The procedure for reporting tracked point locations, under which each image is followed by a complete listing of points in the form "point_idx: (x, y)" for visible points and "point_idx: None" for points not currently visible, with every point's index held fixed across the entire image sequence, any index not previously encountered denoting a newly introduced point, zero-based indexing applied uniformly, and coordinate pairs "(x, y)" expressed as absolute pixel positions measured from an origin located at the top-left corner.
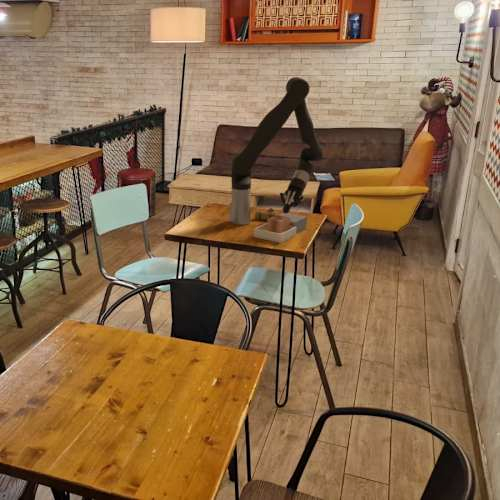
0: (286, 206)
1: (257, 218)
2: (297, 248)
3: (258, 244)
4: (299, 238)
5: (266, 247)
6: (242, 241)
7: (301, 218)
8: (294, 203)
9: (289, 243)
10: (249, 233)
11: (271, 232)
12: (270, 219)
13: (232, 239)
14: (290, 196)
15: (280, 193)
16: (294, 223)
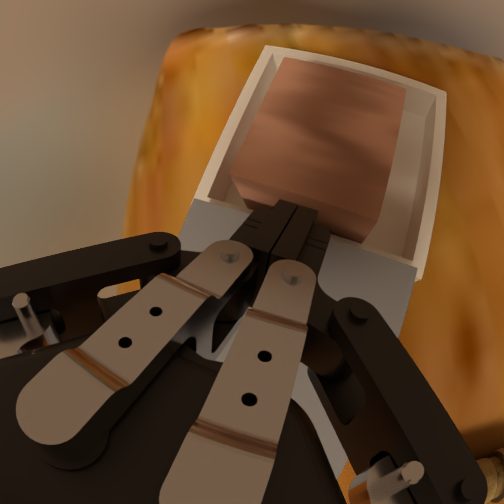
0: (277, 234)
1: (501, 448)
2: (189, 60)
3: (364, 46)
4: (185, 179)
5: (318, 29)
6: (440, 64)
7: None
8: (140, 237)
9: (229, 92)
10: (475, 172)
11: (328, 56)
12: (378, 80)
13: (484, 80)
14: (198, 388)
15: (478, 482)
16: (200, 201)
